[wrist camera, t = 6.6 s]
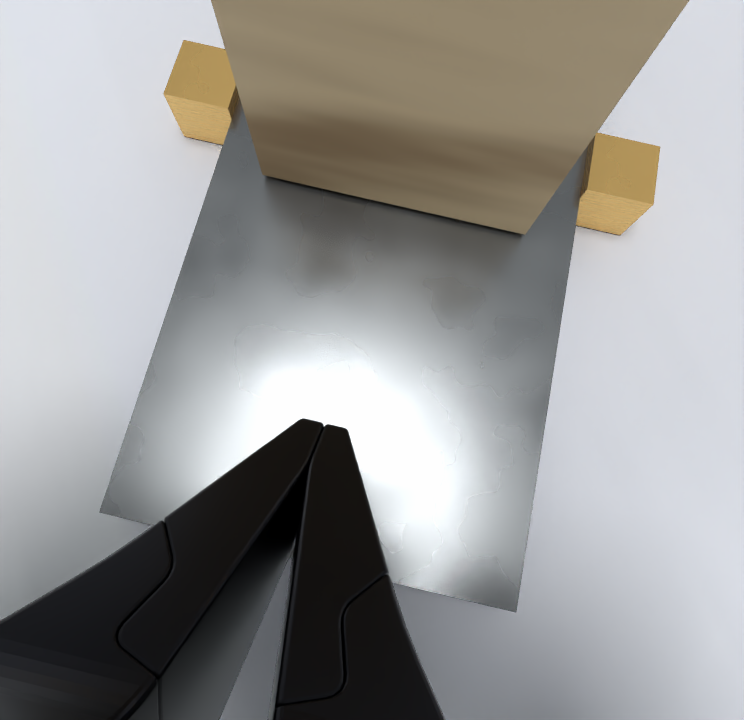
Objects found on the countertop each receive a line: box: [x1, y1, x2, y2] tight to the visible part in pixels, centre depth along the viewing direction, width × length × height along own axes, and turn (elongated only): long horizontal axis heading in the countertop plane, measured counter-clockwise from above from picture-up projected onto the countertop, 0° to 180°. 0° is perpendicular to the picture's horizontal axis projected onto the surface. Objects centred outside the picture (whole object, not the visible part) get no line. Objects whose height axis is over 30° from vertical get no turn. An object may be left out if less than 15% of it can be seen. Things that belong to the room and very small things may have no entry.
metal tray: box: [100, 40, 660, 612], centre depth 16 cm, size 22×15×4 cm
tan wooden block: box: [211, 0, 689, 235], centre depth 12 cm, size 6×8×8 cm
